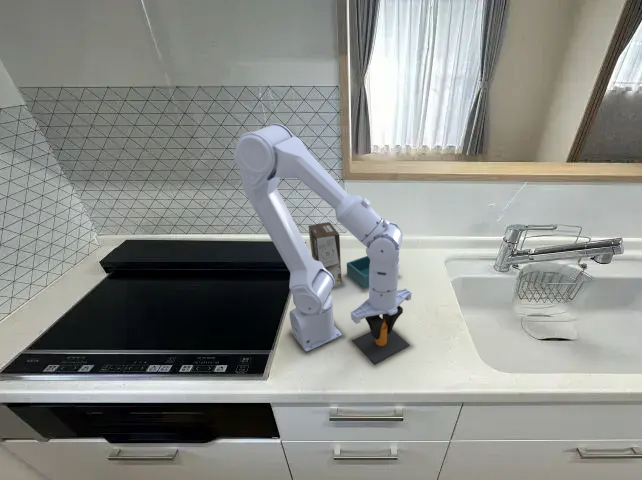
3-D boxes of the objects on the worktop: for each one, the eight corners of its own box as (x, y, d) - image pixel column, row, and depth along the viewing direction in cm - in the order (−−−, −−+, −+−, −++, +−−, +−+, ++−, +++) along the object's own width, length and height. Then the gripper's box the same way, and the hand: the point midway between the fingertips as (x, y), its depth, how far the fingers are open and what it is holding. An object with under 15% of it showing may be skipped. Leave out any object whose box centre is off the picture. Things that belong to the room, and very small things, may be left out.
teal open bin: (364, 290, 91) (364, 276, 88) (347, 275, 97) (346, 262, 94) (397, 277, 96) (398, 264, 94) (379, 264, 102) (379, 251, 100)
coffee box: (342, 285, 92) (340, 234, 83) (321, 290, 91) (315, 238, 81) (333, 270, 99) (330, 221, 89) (313, 274, 97) (307, 224, 88)
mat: (374, 364, 69) (374, 363, 69) (351, 340, 75) (351, 339, 74) (409, 345, 74) (409, 344, 73) (385, 324, 79) (385, 323, 79)
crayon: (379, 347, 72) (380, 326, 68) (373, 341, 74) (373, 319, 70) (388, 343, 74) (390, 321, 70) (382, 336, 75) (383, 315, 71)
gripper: (365, 307, 58) (364, 358, 66) (423, 282, 65) (416, 331, 73) (344, 288, 63) (346, 339, 71) (401, 267, 69) (397, 315, 78)
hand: (381, 334), depth 72 cm, fingers closed on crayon, 3 cm apart
